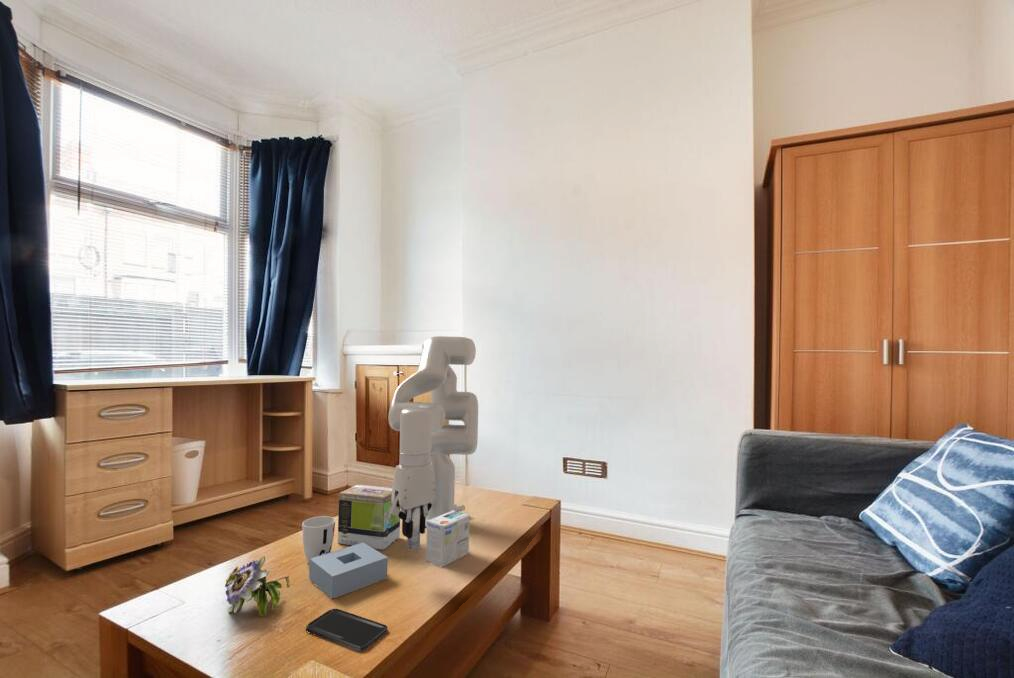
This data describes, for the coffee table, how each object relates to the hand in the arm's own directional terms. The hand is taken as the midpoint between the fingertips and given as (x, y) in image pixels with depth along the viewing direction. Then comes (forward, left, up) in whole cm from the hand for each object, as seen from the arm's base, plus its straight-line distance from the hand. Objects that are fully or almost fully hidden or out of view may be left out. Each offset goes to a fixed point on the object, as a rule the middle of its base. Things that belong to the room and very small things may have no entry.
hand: (413, 533), depth 111 cm
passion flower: (+31, -14, -12) cm, 36 cm away
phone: (+21, +8, -12) cm, 25 cm away
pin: (0, 0, -3) cm, 3 cm away
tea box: (-4, -28, -12) cm, 31 cm away
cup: (+12, -26, -12) cm, 31 cm away
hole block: (+11, -11, -11) cm, 19 cm away
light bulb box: (-14, -4, -12) cm, 19 cm away
